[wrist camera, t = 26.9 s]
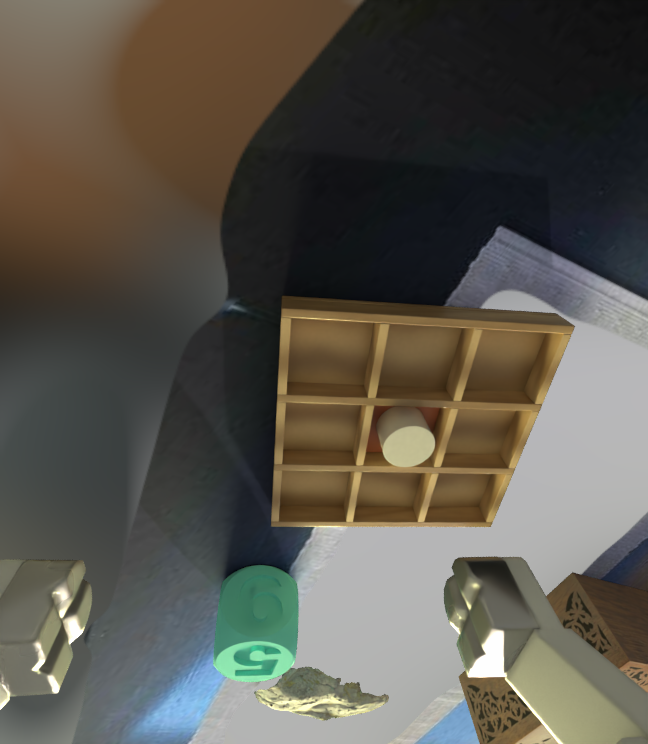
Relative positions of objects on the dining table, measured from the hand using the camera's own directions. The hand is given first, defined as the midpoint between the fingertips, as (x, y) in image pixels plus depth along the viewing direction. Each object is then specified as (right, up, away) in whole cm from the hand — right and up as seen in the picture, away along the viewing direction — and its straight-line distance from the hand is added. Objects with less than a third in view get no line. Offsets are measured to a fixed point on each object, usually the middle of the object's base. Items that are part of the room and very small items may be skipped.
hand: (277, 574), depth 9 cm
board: (+8, 0, +28) cm, 29 cm away
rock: (0, -40, +51) cm, 65 cm away
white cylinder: (+8, 0, +28) cm, 29 cm away
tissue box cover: (+33, -33, +50) cm, 68 cm away
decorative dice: (-6, -20, +39) cm, 44 cm away
